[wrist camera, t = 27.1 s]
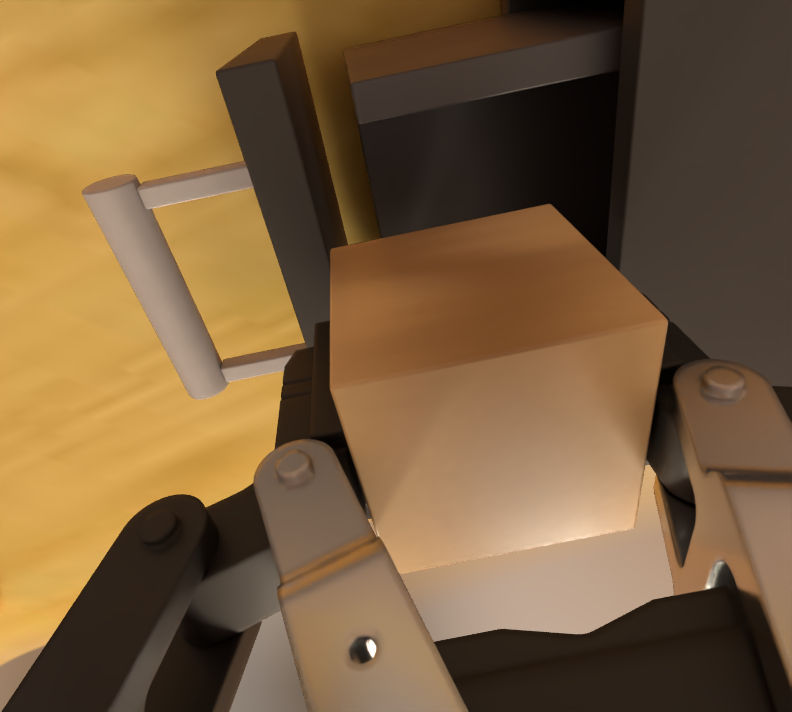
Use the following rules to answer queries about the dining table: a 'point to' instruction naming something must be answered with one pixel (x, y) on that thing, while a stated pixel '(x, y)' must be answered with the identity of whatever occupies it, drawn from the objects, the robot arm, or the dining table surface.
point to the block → (492, 386)
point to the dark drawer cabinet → (707, 171)
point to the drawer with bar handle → (387, 157)
